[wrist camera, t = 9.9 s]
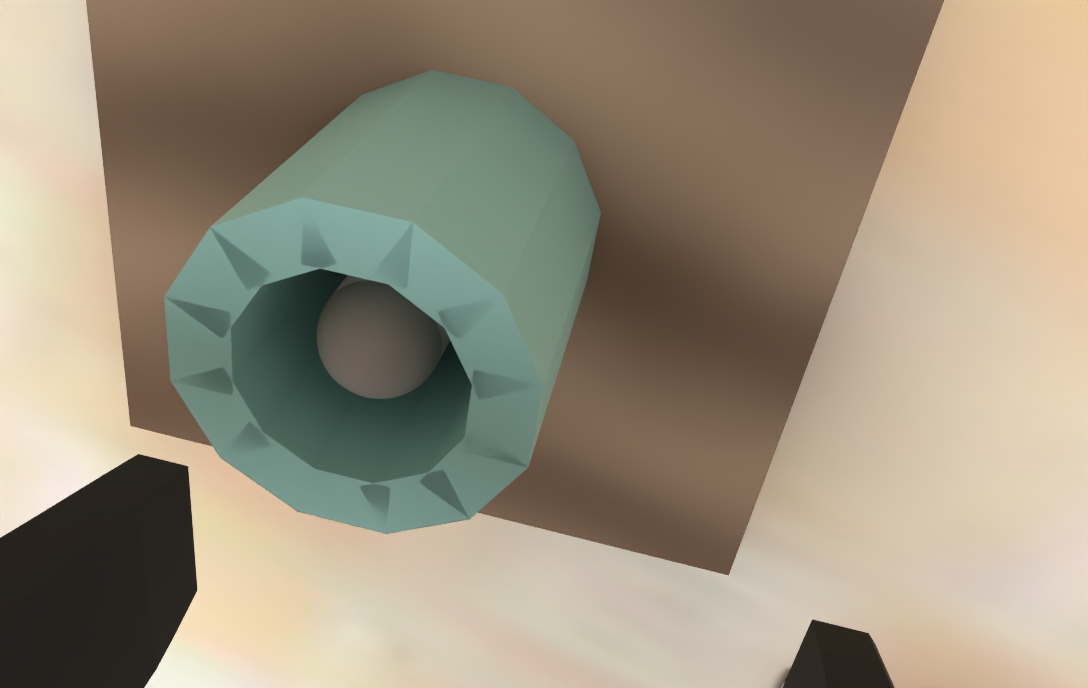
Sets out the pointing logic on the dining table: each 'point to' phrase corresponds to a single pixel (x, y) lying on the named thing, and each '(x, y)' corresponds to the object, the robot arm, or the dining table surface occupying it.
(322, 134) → the teal roll
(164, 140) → the brown square base plate
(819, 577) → the dining table surface
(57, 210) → the dining table surface
